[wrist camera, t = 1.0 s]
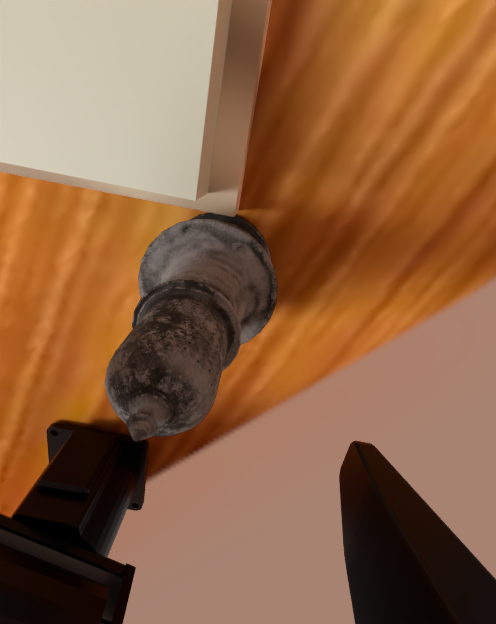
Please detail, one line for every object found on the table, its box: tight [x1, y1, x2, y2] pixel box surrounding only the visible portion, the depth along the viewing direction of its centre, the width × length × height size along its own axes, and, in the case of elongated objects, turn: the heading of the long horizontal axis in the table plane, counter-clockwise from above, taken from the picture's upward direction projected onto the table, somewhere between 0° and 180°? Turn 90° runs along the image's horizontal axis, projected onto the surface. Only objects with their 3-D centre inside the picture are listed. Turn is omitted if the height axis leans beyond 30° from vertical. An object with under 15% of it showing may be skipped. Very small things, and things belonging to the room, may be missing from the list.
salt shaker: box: [105, 212, 278, 441], centre depth 13 cm, size 6×6×12 cm
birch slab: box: [0, 0, 272, 217], centre depth 14 cm, size 11×11×2 cm
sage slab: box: [0, 0, 233, 201], centre depth 12 cm, size 9×9×2 cm
